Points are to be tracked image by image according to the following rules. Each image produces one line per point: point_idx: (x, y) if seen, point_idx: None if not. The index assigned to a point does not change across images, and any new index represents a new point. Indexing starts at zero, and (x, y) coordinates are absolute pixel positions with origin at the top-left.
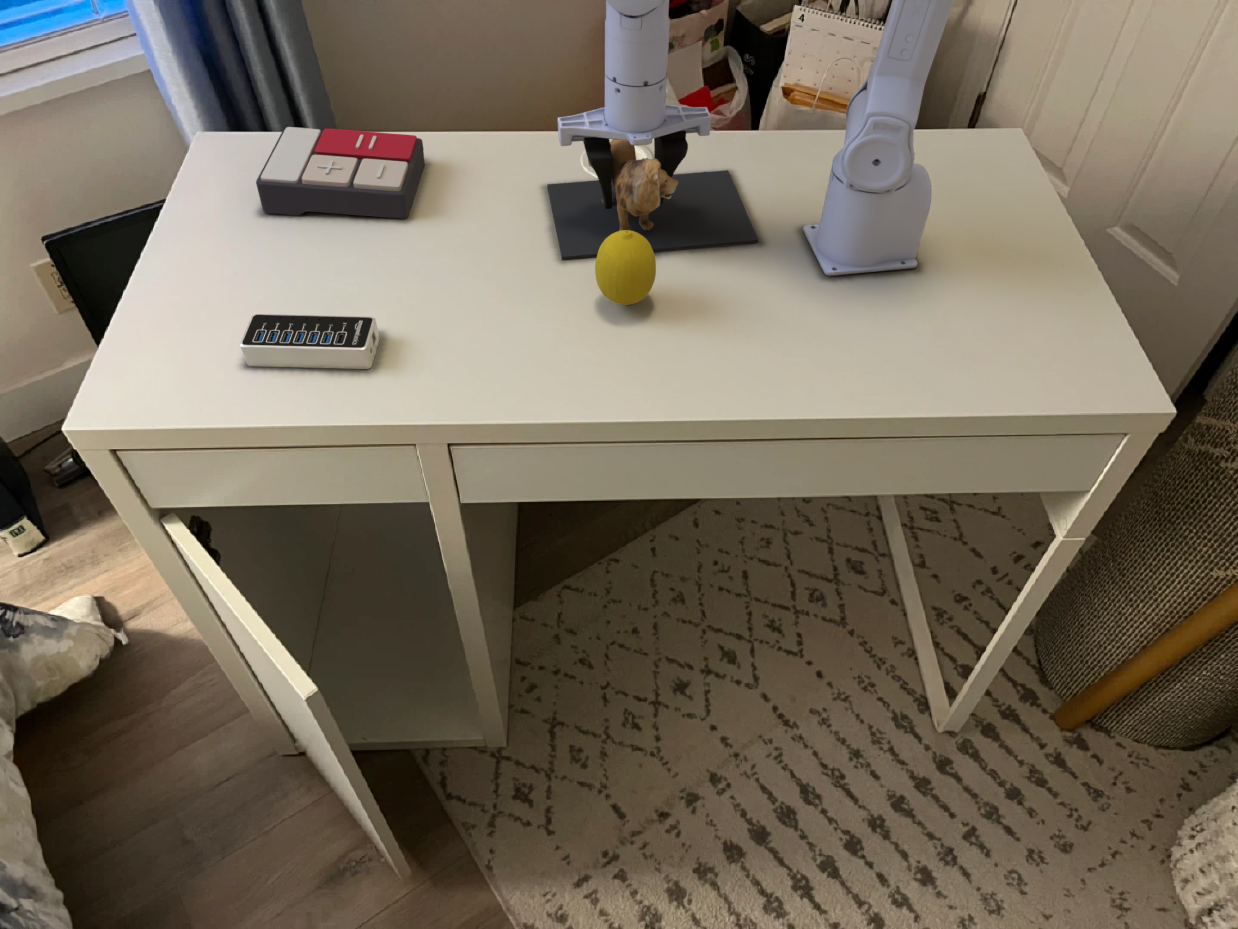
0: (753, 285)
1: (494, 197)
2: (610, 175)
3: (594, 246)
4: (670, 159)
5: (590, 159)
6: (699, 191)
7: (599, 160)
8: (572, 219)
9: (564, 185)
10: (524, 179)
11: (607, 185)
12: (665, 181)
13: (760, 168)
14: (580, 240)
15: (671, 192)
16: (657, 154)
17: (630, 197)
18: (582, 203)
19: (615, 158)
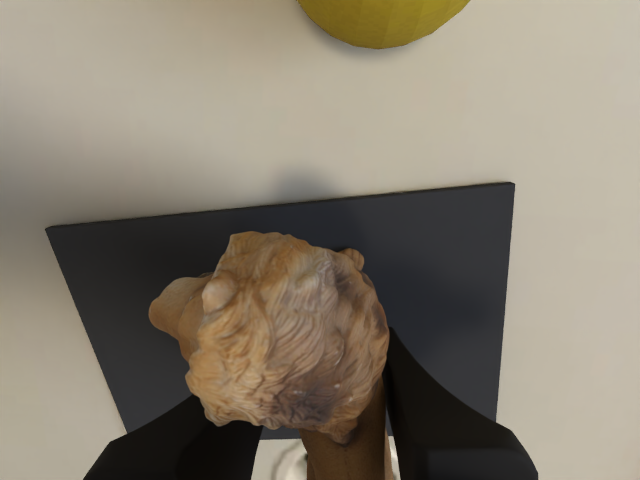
0: (40, 58)
1: (612, 406)
2: (402, 391)
3: (426, 221)
4: (174, 432)
5: (521, 447)
6: (183, 390)
7: (479, 438)
8: (462, 321)
9: None
10: (533, 451)
11: (404, 366)
12: (189, 304)
13: (77, 444)
14: (457, 245)
15: (184, 277)
16: (236, 470)
17: (342, 267)
18: (430, 371)
19: (374, 466)
